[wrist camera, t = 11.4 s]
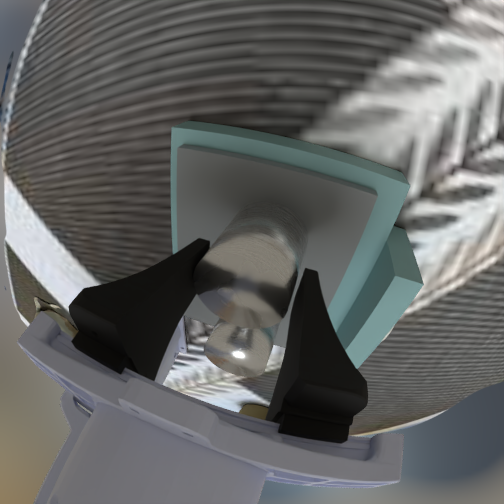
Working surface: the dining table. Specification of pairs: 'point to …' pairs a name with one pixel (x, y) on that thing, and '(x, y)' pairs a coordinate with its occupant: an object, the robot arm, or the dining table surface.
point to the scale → (371, 243)
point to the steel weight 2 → (240, 348)
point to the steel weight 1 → (253, 266)
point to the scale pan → (276, 190)
